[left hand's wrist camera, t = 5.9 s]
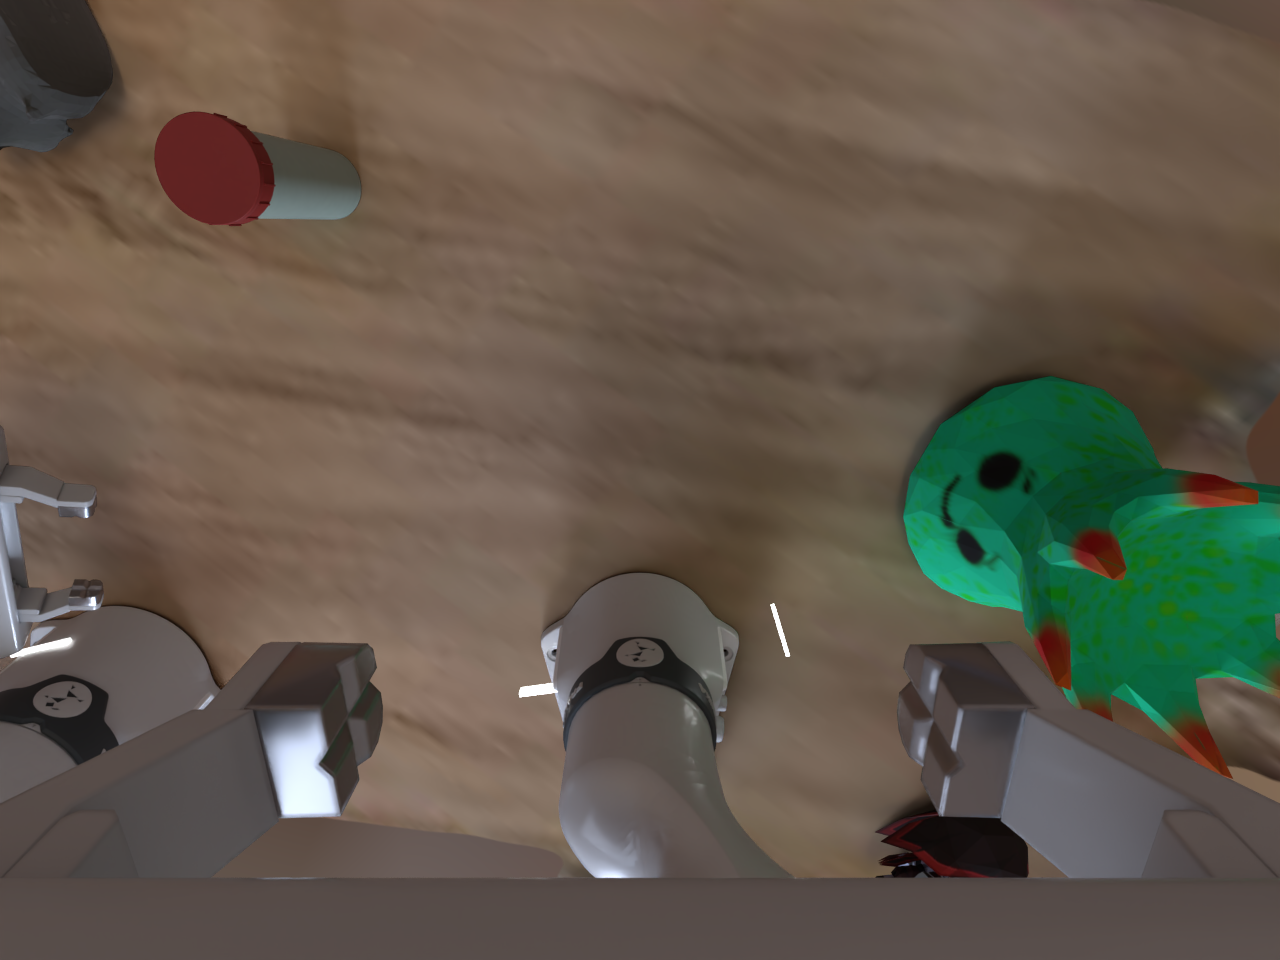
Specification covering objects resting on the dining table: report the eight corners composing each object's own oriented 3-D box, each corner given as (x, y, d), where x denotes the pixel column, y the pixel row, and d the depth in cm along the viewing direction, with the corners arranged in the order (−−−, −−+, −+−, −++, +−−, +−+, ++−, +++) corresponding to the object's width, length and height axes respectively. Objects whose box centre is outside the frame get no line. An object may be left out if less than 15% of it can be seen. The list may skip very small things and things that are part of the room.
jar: (292, 146, 51) (158, 117, 37) (358, 151, 52) (251, 123, 37) (299, 217, 53) (174, 215, 39) (363, 221, 53) (262, 220, 39)
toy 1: (911, 959, 63) (1067, 899, 62) (862, 851, 67) (1009, 792, 66) (894, 922, 74) (1026, 870, 73) (852, 830, 78) (978, 780, 77)
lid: (164, 112, 38) (144, 107, 37) (269, 118, 38) (253, 114, 37) (182, 222, 40) (163, 222, 39) (281, 228, 40) (266, 228, 39)
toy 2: (950, 349, 56) (1170, 439, 33) (1175, 404, 58) (1538, 526, 35) (865, 567, 63) (998, 769, 40) (1069, 611, 65) (1312, 829, 42)
